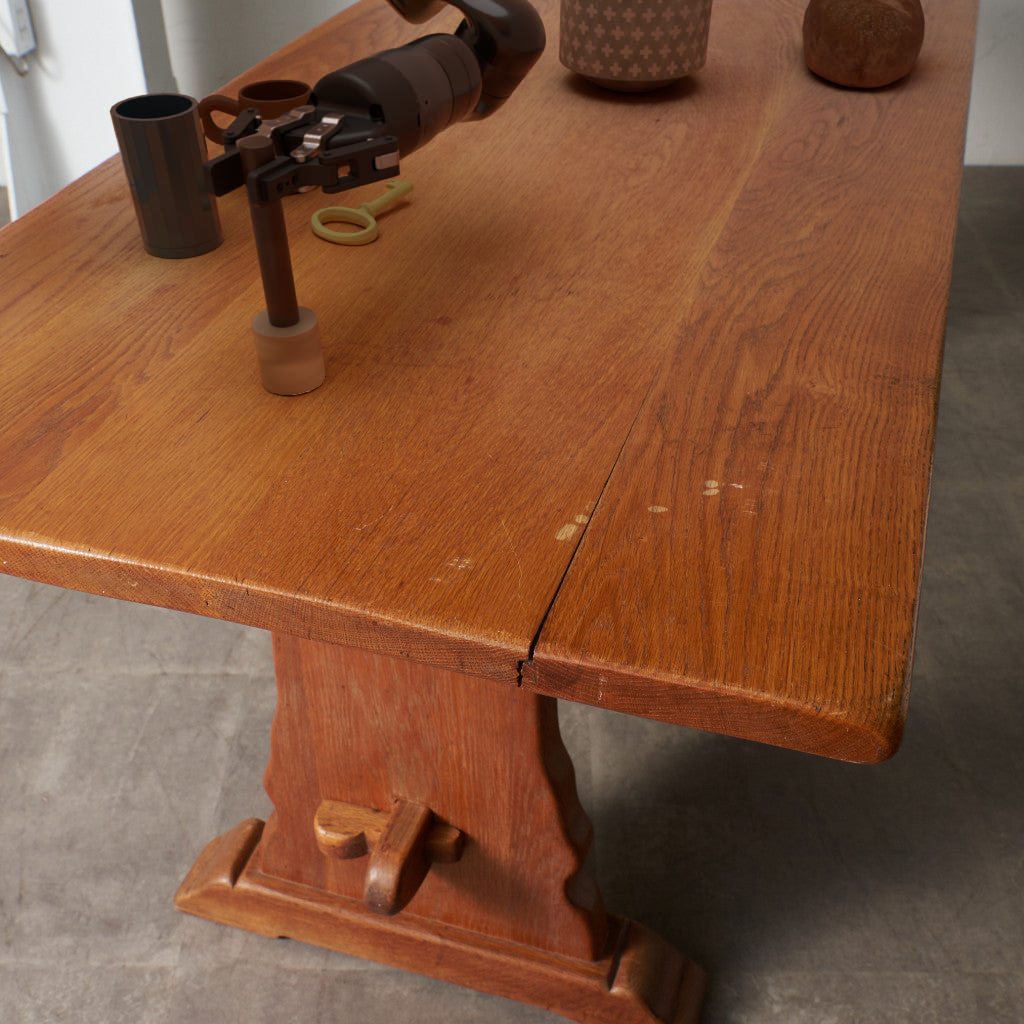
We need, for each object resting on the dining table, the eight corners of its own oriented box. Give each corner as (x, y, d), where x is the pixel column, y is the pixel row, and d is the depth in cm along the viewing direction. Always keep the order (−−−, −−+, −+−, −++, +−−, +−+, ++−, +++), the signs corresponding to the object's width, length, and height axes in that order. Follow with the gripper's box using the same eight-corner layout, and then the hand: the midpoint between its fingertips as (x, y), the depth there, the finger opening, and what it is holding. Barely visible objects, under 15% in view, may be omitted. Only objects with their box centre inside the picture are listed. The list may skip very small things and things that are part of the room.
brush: (253, 393, 75) (206, 153, 64) (274, 360, 79) (233, 127, 67) (315, 398, 75) (279, 157, 63) (333, 365, 78) (302, 131, 67)
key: (418, 199, 103) (416, 178, 102) (366, 249, 94) (364, 227, 93) (354, 190, 105) (352, 170, 104) (298, 239, 96) (295, 218, 95)
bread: (796, 89, 131) (812, -7, 124) (798, 30, 153) (812, -55, 146) (921, 97, 128) (946, -1, 121) (906, 36, 150) (925, -50, 143)
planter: (730, 95, 129) (751, -66, 117) (595, 114, 124) (604, -53, 112) (659, 56, 143) (672, -92, 131) (536, 71, 137) (538, -82, 126)
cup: (130, 255, 93) (94, 118, 85) (163, 223, 99) (132, 91, 91) (206, 261, 92) (177, 122, 84) (235, 227, 98) (210, 94, 90)
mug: (205, 200, 103) (186, 105, 97) (213, 172, 109) (195, 81, 103) (323, 194, 104) (312, 100, 98) (325, 167, 110) (314, 77, 104)
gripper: (301, 44, 77) (135, 110, 65) (460, 70, 71) (311, 147, 60) (314, 143, 81) (161, 221, 70) (464, 175, 76) (326, 264, 64)
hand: (231, 186), depth 65 cm, fingers open, 3 cm apart
